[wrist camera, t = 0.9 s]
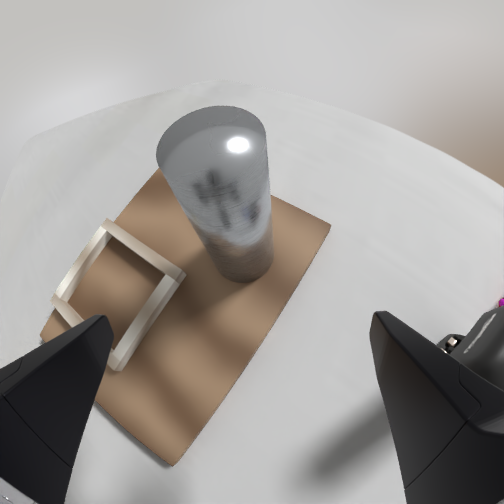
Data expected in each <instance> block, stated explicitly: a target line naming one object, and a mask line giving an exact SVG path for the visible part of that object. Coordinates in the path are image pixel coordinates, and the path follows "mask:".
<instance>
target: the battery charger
mask: <svg viewBox="0 0 504 504" xmlns="http://www.w3.org/2000/svg"><path fill="white" fill-rule="evenodd" d="M437 346H438V347H439V348H441V349H442V350H443V351H445V352H446V353H448V354H449V355H450V356H452V357H453V358H455V359H456V360H457V361H459V362H460V363H462V364H463V365H464V366H466V367H467V368H469V369H470V370H471V371H473V372H474V373H476V374H477V375H479V376H480V377H482V378H483V379H485V380H486V381H488V382H490V383H491V384H493V385H494V386H496V387H498V388H499V389H501V390H503V391H504V305H503V306H501V307H498V308H495V309H493V310H491V311H489V312H486V313H484V314H483V315H482V316H481V318H480V319H479V320H478V321H477V323H476V324H475V325H474V326H473V328H472V329H471V331H470V332H469V333H468V334H467V335H466V336H463V335H458V334H450V335H447V336H446V337H445V338H444V339H443V340H441V342H440V343H439V344H438V345H437Z"/></svg>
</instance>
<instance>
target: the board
mask: <svg viewBox="0 0 504 504" xmlns="http://www.w3.org/2000/svg"><path fill="white" fill-rule="evenodd" d="M270 196H271V210H272V225H273V241H274V259H273V263H272V265H271V267H270V269H269V270H268V271H267V272H266V273H265V274H264V275H263V276H262V277H260V278H259V279H257V280H254V281H251V282H247V283H238V282H233V281H231V280H228V279H227V278H225V277H224V276H222V275H221V274H220V272H219V271H218V270H217V268H216V266H215V265H214V263H213V261H212V259H211V258H210V256H209V254H208V253H207V251H206V249H205V248H204V246H203V244H202V242H201V241H200V239H199V237H198V235H197V234H196V232H195V230H194V229H193V227H192V225H191V223H190V222H189V220H188V218H187V216H186V214H185V213H184V211H183V209H182V207H181V206H180V204H179V202H178V200H177V198H176V197H175V195H174V193H173V191H172V189H171V188H170V186H169V184H168V182H167V180H166V179H165V177H164V175H163V173H162V171H161V169H160V168H158V170H157V171H156V172H155V173H154V174H153V175H152V176H151V178H150V179H149V180H148V181H147V182H146V183H145V184H144V186H143V187H142V188H141V189H140V190H139V192H138V193H137V194H136V195H135V196H134V198H133V199H132V200H131V201H130V202H129V204H128V205H127V206H126V207H125V209H124V210H123V211H122V212H121V214H120V215H119V216H118V217H117V219H116V220H115V221H114V223H113V222H112V221H111V220H109V219H108V218H106V220H105V221H104V222H103V224H102V225H101V226H100V228H99V229H98V230H97V232H96V233H95V234H94V236H93V237H92V238H91V240H90V241H89V243H88V244H87V245H86V247H85V248H84V250H83V251H82V252H81V254H80V255H79V257H78V258H77V260H76V261H75V263H74V264H73V266H72V267H71V269H70V270H69V272H68V273H67V275H66V276H65V278H64V279H63V281H62V282H61V284H60V285H59V287H58V289H57V290H56V292H55V293H54V295H53V297H52V298H51V300H50V302H51V303H52V304H53V306H54V307H55V309H54V311H53V312H52V314H51V316H50V317H49V319H48V321H47V323H46V324H45V326H44V328H43V330H42V332H41V333H40V336H41V338H42V339H43V340H44V342H45V343H46V342H48V341H50V340H51V339H53V338H55V337H57V336H58V335H60V334H62V333H64V332H65V331H67V330H69V329H71V328H72V327H74V326H76V325H78V324H79V323H81V322H83V321H85V320H86V319H88V318H90V317H92V316H93V315H95V314H101V315H106V316H107V318H108V320H109V322H110V325H111V327H112V330H113V332H114V340H113V344H112V347H111V351H110V354H109V358H108V362H107V365H106V369H105V372H104V375H103V378H102V381H101V383H100V386H99V389H98V391H97V394H96V397H95V401H96V402H97V403H98V404H99V405H100V406H101V407H102V408H103V409H105V410H106V411H107V412H108V413H109V414H110V415H111V416H112V417H113V418H114V419H115V420H116V421H117V422H118V423H119V424H121V425H122V426H123V427H124V428H125V429H126V430H127V431H128V432H130V433H131V434H132V435H133V436H134V437H135V438H137V439H138V440H139V441H140V442H141V443H143V444H144V445H145V446H146V447H148V448H149V449H150V450H151V451H153V452H154V453H155V454H156V455H158V456H159V457H160V458H162V459H163V460H164V461H166V462H167V463H168V464H170V465H171V466H174V465H175V464H176V463H178V461H179V460H180V459H181V457H182V456H183V455H184V453H185V452H186V451H187V449H188V448H189V447H190V445H191V444H192V443H193V441H194V440H195V439H196V437H197V436H198V435H199V433H200V432H201V431H202V429H203V428H204V426H205V425H206V424H207V422H208V421H209V420H210V418H211V417H212V415H213V414H214V413H215V411H216V410H217V408H218V407H219V406H220V404H221V403H222V401H223V400H224V398H225V397H226V395H227V394H228V393H229V391H230V390H231V388H232V387H233V385H234V384H235V382H236V381H237V379H238V378H239V377H240V375H241V374H242V372H243V371H244V369H245V368H246V366H247V365H248V363H249V362H250V360H251V359H252V357H253V356H254V354H255V353H256V351H257V349H258V348H259V346H260V345H261V343H262V342H263V340H264V339H265V337H266V336H267V334H268V332H269V331H270V329H271V328H272V326H273V325H274V323H275V321H276V320H277V318H278V317H279V315H280V313H281V312H282V310H283V309H284V307H285V305H286V304H287V302H288V301H289V299H290V297H291V296H292V294H293V292H294V291H295V289H296V287H297V286H298V284H299V282H300V281H301V279H302V277H303V276H304V274H305V272H306V271H307V269H308V267H309V266H310V264H311V262H312V261H313V259H314V257H315V255H316V254H317V252H318V250H319V248H320V247H321V245H322V243H323V241H324V240H325V238H326V236H327V234H328V233H329V231H330V227H331V225H330V224H329V223H327V222H325V221H323V220H321V219H319V218H317V217H315V216H313V215H311V214H309V213H307V212H305V211H303V210H301V209H299V208H297V207H295V206H293V205H291V204H289V203H287V202H285V201H283V200H281V199H279V198H277V197H274V196H272V195H270Z"/></svg>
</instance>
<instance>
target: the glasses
mask: <svg viewBox="0 0 504 504" xmlns="http://www.w3.org/2000/svg"><path fill="white" fill-rule="evenodd" d="M503 305H504V298H502V299H501V300H500V301H499V307H501V306H503Z"/></svg>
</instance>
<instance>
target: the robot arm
mask: <svg viewBox="0 0 504 504" xmlns="http://www.w3.org/2000/svg"><path fill="white" fill-rule="evenodd" d="M113 340H114V332H113V330H112V327H111V325H110V322H109V320H108V318H107V316H106V315H101V314H95V315H93V316H92V317H90V318H88V319H86V320H85V321H83V322H81V323H79V324H78V325H76V326H74V327H72V328H71V329H69V330H67V331H65V332H64V333H62V334H60V335H58V336H57V337H55V338H53V339H51V340H50V341H48V342H46V343H45V344H43V345H41V346H39V347H38V348H36V349H34V350H33V351H31V352H29V353H27V354H26V355H24V357H23V356H22V357H21V358H19V359H17V360H15V361H14V362H12V363H10V364H8V365H7V366H5V367H3V368H1V369H0V504H35V503H37V504H64V502H65V497H66V493H67V489H68V485H69V481H70V477H71V473H72V468H73V466H74V462H75V459H76V455H77V452H78V448H79V445H80V442H81V439H82V435H83V432H84V429H85V426H86V423H87V420H88V417H89V414H90V411H91V408H92V405H93V403H94V400H95V397H96V394H97V391H98V389H99V386H100V383H101V381H102V378H103V375H104V372H105V369H106V365H107V362H108V358H109V354H110V351H111V347H112V344H113ZM370 342H371V348H372V353H373V358H374V364H375V370H376V375H377V380H378V384H379V387H380V390H381V394H382V397H383V401H384V405H385V408H386V412H387V416H388V420H389V423H390V427H391V431H392V435H393V439H394V443H395V448H396V452H397V456H398V461H399V465H400V470H401V475H402V480H403V485H404V489H405V490H404V491H405V496H406V502H407V504H504V391H503V390H501V389H499V388H498V387H496V386H494V385H493V384H491V383H490V382H488V381H486V380H485V379H483V378H482V377H480V376H479V375H477V374H476V373H474V372H473V371H471V370H470V369H469V368H467V367H466V366H464V365H463V364H462V363H460V362H459V361H457V360H456V359H455V358H453V357H452V356H450V355H449V354H448V353H446V352H445V351H443V350H442V349H441V348H439V347H438V346H436V345H435V344H434V343H432V342H431V341H429V340H428V339H426V338H425V337H424V336H422V335H421V334H419V333H418V332H416V331H415V330H414V329H412V328H411V327H409V326H408V325H406V324H405V323H404V322H402V321H401V320H399V319H398V318H396V317H395V316H393V315H392V314H391V313H389V312H387V311H376V312H375V313H374V314H373V318H372V323H371V328H370Z"/></svg>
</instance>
